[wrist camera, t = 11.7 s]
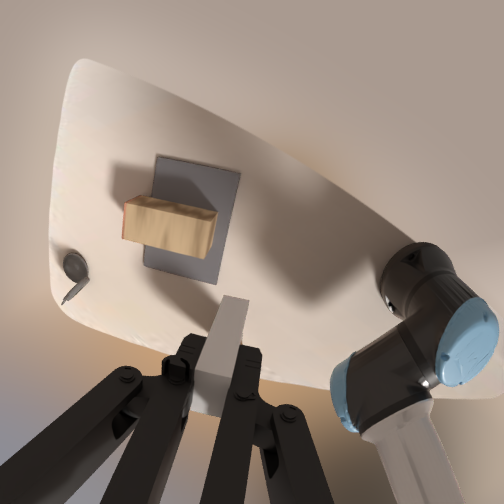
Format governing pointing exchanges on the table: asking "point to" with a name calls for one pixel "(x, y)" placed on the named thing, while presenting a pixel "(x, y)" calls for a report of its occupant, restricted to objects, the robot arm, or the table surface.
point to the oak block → (169, 226)
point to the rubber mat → (201, 196)
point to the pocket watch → (75, 273)
